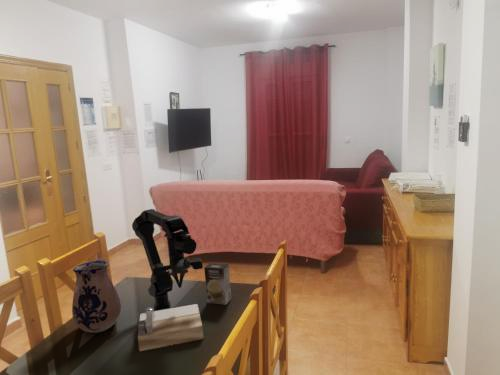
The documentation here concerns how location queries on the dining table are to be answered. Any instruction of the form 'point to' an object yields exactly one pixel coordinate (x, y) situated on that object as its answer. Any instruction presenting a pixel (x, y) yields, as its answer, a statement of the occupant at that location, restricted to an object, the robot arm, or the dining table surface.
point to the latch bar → (149, 319)
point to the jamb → (172, 313)
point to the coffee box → (217, 283)
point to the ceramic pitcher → (94, 297)
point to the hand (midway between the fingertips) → (180, 287)
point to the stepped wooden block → (170, 332)
